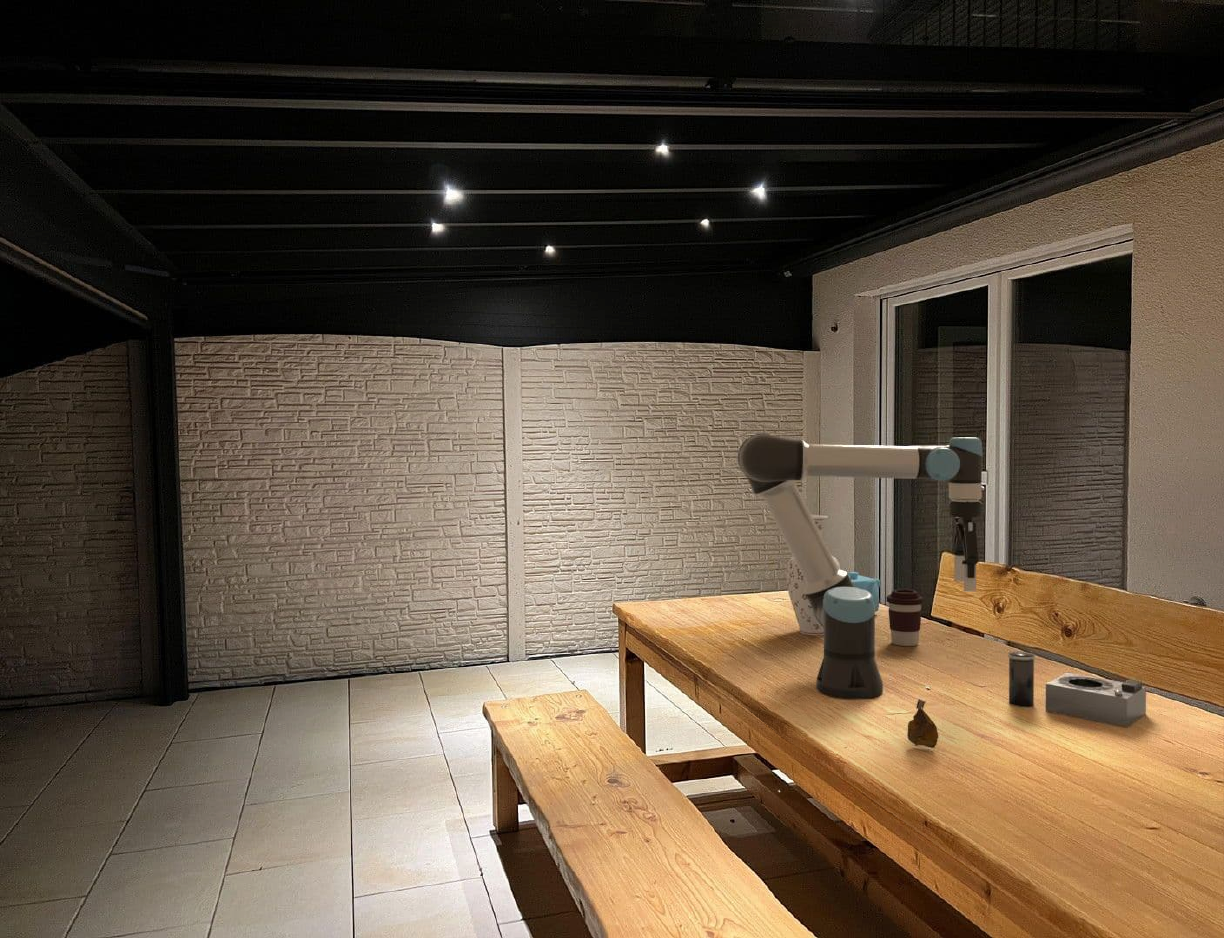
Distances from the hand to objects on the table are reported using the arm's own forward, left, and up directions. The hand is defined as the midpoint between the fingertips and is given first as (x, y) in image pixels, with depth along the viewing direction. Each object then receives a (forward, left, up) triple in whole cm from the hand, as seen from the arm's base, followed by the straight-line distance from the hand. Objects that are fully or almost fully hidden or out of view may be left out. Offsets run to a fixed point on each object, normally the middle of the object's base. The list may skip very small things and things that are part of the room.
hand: (964, 586), depth 225 cm
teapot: (+47, +59, -22) cm, 78 cm away
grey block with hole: (-9, -33, -22) cm, 41 cm away
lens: (-13, -19, -22) cm, 32 cm away
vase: (+15, +54, -22) cm, 60 cm away
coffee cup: (+20, +27, -22) cm, 40 cm away
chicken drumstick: (-54, -16, -23) cm, 61 cm away
